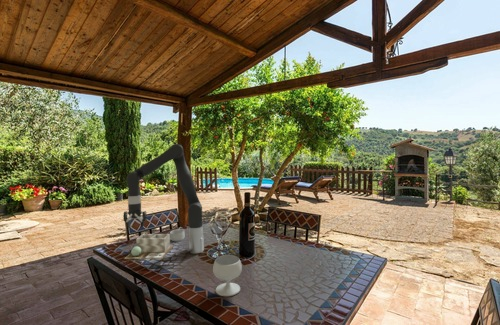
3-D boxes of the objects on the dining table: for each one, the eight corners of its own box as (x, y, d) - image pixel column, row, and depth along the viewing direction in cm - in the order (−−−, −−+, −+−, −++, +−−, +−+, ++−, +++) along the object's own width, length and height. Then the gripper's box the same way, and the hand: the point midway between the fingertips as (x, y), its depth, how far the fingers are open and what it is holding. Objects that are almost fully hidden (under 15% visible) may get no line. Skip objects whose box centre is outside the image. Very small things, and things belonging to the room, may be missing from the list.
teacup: (182, 243, 187) (182, 233, 186) (168, 243, 187) (167, 233, 187) (187, 237, 201) (187, 227, 200) (174, 237, 201) (173, 227, 201)
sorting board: (174, 247, 179) (174, 233, 178) (162, 261, 156) (161, 244, 155) (140, 247, 180) (140, 233, 179) (123, 261, 157) (122, 245, 156)
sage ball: (143, 253, 164) (142, 245, 164) (138, 257, 158) (138, 248, 158) (134, 254, 164) (134, 245, 164) (129, 257, 158) (129, 248, 158)
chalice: (207, 290, 121) (207, 260, 121) (229, 279, 131) (229, 251, 130) (225, 302, 111) (225, 269, 111) (248, 289, 121) (247, 259, 120)
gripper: (148, 201, 164) (148, 225, 164) (126, 201, 164) (127, 225, 165) (142, 203, 156) (143, 229, 157) (120, 203, 157) (121, 229, 157)
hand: (135, 227), depth 161 cm, fingers open, 8 cm apart
